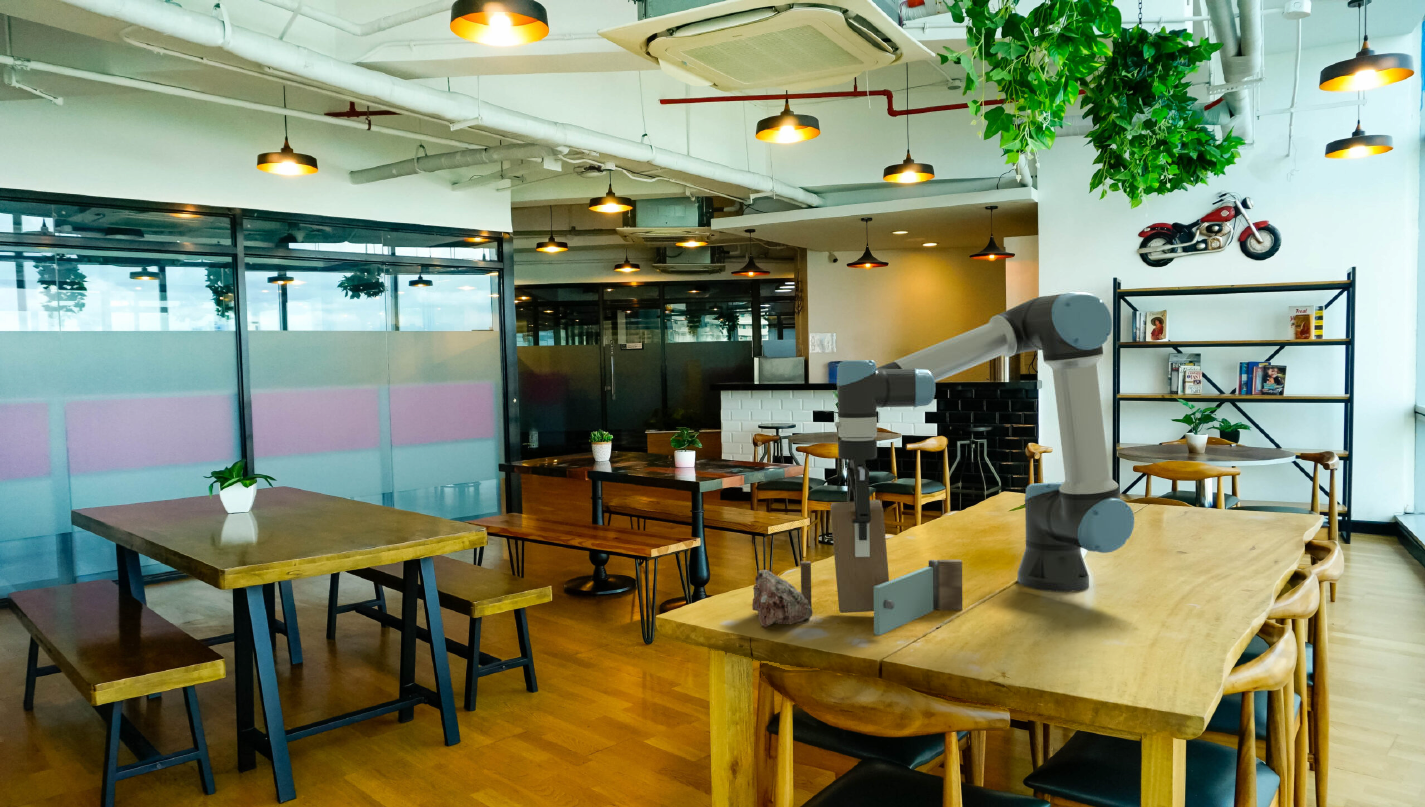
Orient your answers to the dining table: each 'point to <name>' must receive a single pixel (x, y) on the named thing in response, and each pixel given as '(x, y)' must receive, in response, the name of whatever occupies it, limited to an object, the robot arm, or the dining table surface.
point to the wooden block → (853, 571)
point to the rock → (778, 600)
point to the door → (903, 600)
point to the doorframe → (944, 583)
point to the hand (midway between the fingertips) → (858, 550)
